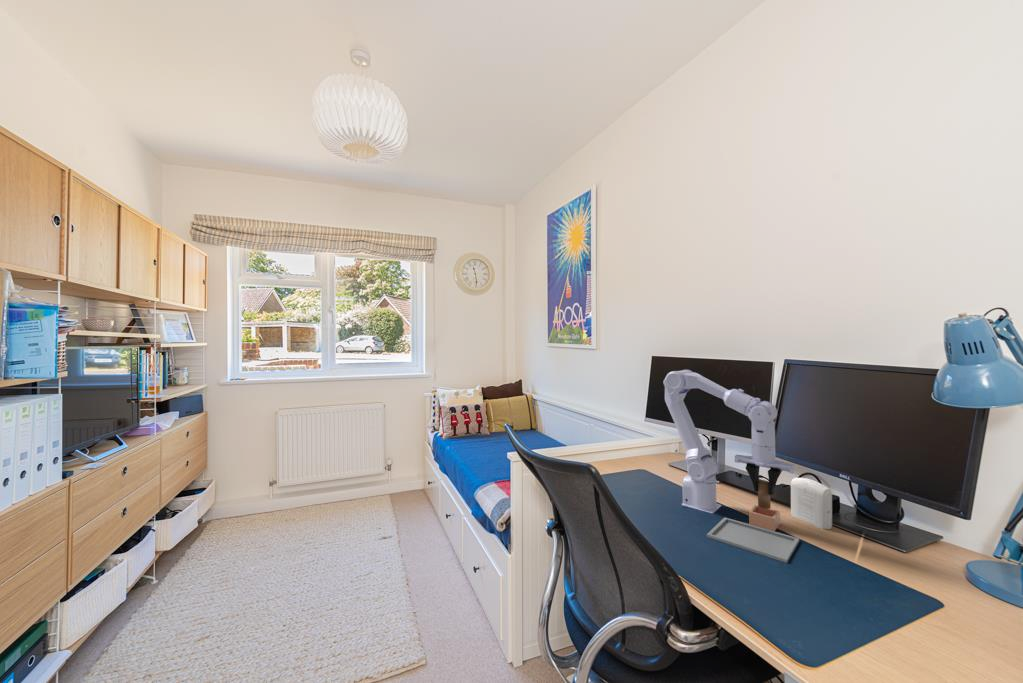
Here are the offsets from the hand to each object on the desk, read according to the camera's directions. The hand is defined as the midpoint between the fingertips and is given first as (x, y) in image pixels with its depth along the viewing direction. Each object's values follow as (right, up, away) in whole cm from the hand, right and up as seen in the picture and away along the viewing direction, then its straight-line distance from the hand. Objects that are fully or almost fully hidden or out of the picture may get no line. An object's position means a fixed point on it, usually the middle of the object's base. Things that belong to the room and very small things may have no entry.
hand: (764, 492), depth 113 cm
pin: (0, -4, 0) cm, 4 cm away
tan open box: (0, -10, 0) cm, 10 cm away
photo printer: (+14, -10, +1) cm, 17 cm away
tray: (-8, -10, -8) cm, 15 cm away
